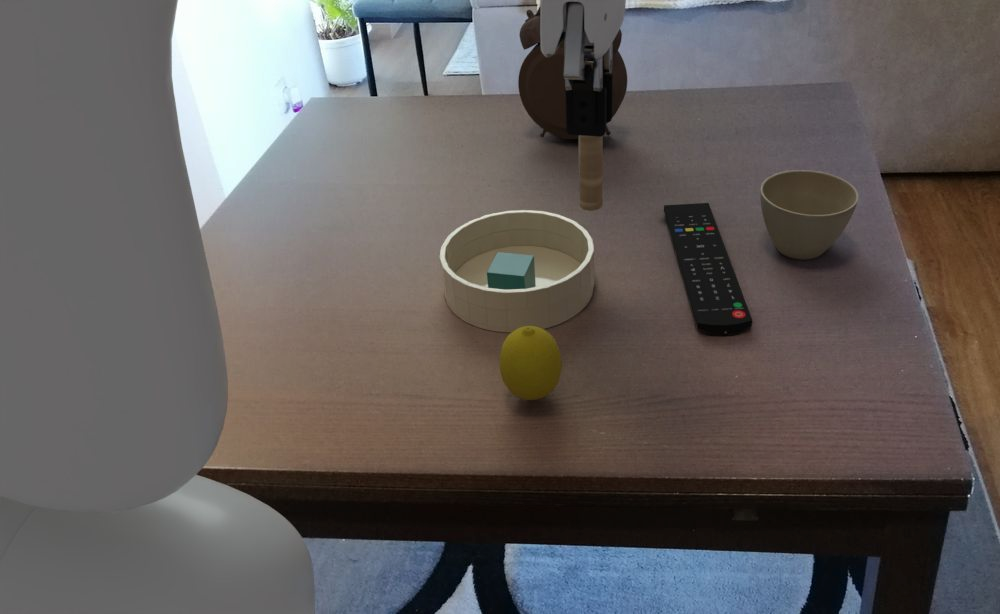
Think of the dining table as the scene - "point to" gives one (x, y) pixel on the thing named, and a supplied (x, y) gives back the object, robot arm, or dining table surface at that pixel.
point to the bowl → (556, 259)
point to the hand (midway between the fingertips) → (589, 125)
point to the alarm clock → (556, 80)
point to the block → (511, 271)
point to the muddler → (591, 169)
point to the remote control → (707, 270)
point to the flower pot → (806, 211)
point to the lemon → (530, 363)
